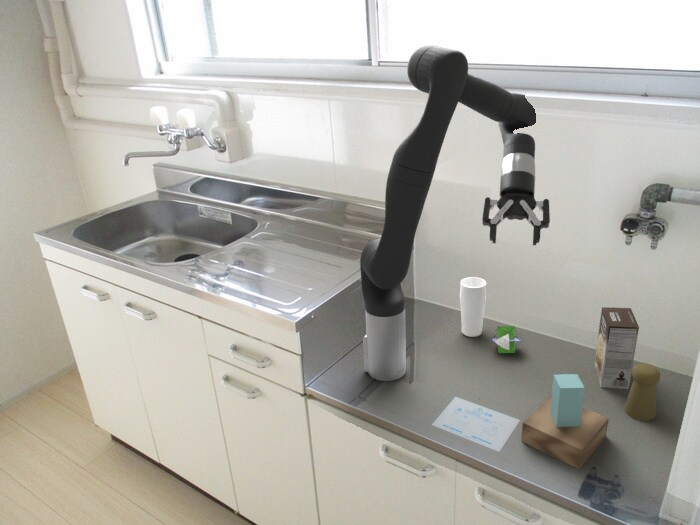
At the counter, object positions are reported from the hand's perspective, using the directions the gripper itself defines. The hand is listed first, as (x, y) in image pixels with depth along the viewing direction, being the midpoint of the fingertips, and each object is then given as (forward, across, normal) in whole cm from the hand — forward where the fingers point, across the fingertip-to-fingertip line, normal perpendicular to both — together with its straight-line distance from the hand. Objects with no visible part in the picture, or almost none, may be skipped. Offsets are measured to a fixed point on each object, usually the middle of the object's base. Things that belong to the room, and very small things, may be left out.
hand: (514, 243), depth 129 cm
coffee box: (+22, +23, +24) cm, 40 cm away
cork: (+31, +28, +16) cm, 44 cm away
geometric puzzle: (+17, 0, +30) cm, 34 cm away
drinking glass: (+12, -9, +35) cm, 38 cm away
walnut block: (+40, +12, +7) cm, 42 cm away
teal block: (+36, +11, +4) cm, 38 cm away
